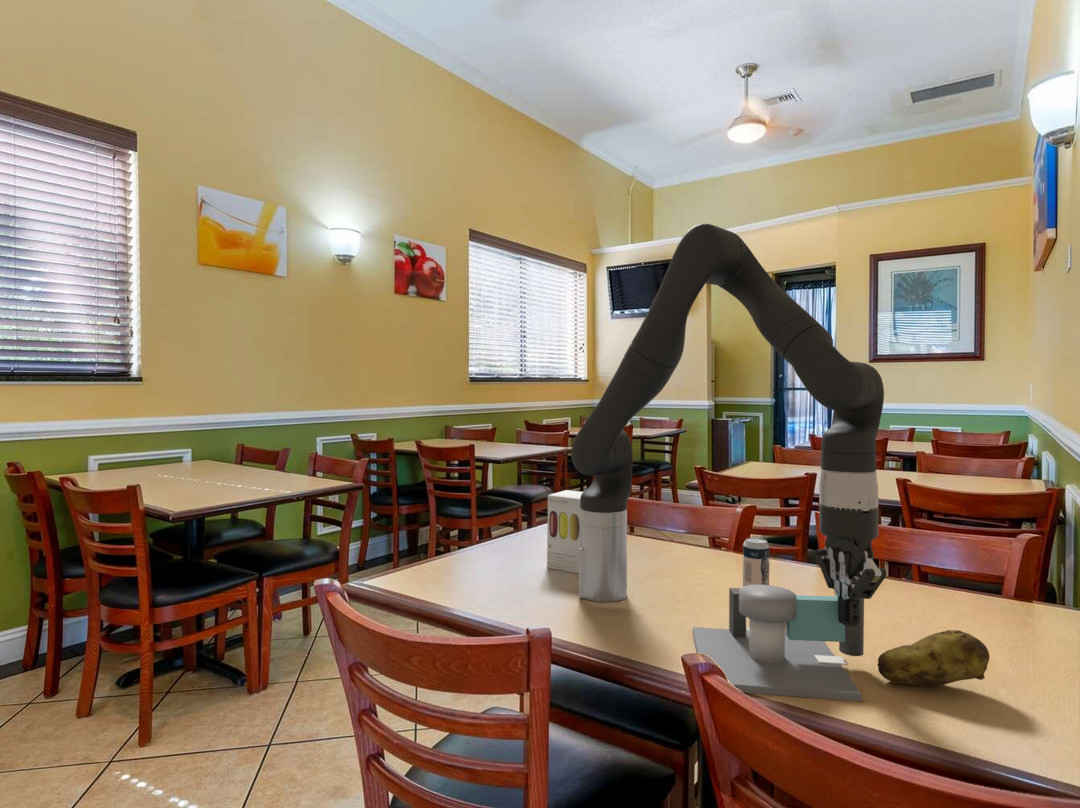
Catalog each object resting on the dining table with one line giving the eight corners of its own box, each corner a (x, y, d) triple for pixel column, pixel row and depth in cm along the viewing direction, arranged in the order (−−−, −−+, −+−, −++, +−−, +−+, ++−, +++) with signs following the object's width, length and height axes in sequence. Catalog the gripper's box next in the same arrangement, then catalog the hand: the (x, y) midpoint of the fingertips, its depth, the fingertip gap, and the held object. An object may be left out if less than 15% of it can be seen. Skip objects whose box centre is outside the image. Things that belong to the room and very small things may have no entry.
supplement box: (545, 568, 143) (545, 494, 142) (565, 558, 151) (565, 489, 150) (582, 574, 138) (582, 498, 137) (601, 564, 146) (601, 492, 145)
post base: (703, 689, 85) (704, 631, 85) (692, 630, 106) (692, 583, 105) (869, 702, 82) (870, 641, 81) (824, 638, 102) (824, 590, 102)
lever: (744, 658, 90) (745, 595, 89) (733, 636, 98) (734, 578, 97) (874, 663, 88) (874, 600, 87) (852, 641, 96) (852, 582, 95)
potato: (880, 664, 93) (881, 610, 93) (987, 686, 86) (988, 628, 86) (875, 687, 86) (876, 629, 86) (991, 713, 79) (992, 650, 79)
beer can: (770, 608, 116) (771, 544, 116) (744, 606, 117) (744, 542, 117) (766, 599, 121) (767, 538, 121) (741, 598, 122) (741, 537, 122)
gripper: (797, 496, 95) (797, 610, 95) (854, 511, 81) (854, 644, 82) (842, 494, 96) (843, 608, 96) (906, 509, 83) (906, 640, 83)
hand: (848, 624), depth 89 cm, fingers closed
